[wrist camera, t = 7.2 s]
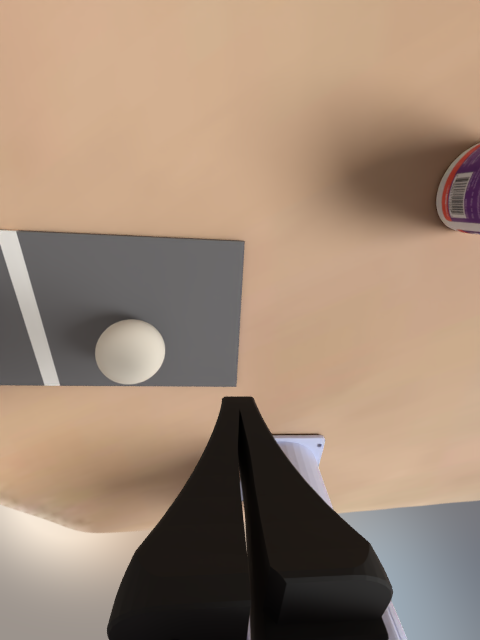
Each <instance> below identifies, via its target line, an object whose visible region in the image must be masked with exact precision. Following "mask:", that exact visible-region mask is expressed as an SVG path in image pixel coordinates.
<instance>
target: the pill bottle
mask: <svg viewBox="0 0 480 640" xmlns="http://www.w3.org/2000/svg"><path fill="white" fill-rule="evenodd" d="M436 207H437V212H438V215H439V217H440V219H441V220H442V222H443V223H444V224H445V225H446V226H447V227H449V228H451V229H453V230H456V231H460V232H465V233H471V234H480V143H478V144H476V145H474V146H472V147H470V148H469V149H467V150H466V151H464V152H463V153H462V154H461V155H460V156H458V157H457V158H456V159H455V160H454V162H453V163H452V164H451V165H450V166H449V168H448V169H447V171H446V172H445V174H444V176H443V178H442V180H441V182H440V185H439V188H438V192H437V197H436Z"/></svg>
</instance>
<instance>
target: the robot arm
mask: <svg viewBox="0 0 480 640" xmlns="http://www.w3.org/2000/svg"><path fill="white" fill-rule="evenodd" d="M324 443H325V439H324V437H323V436H322V435H272V434H271V432H270V430H269V429H268V427H267V425H266V423H265V422H264V420H263V418H262V416H261V414H260V412H259V410H258V408H257V406H256V403H255V401H254V398H253V397H224V398H222V404H221V409H220V413H219V416H218V419H217V422H216V425H215V427H214V430H213V433H212V435H211V437H210V440H209V442H208V444H207V446H206V448H205V450H204V452H203V454H202V456H201V458H200V460H199V462H198V464H197V466H196V467H195V469H194V471H193V473H192V474H191V476H190V478H189V479H188V481H187V483H186V484H185V486H184V487H183V489H182V490H181V492H180V494H179V495H178V496H177V498H176V499H175V501H174V502H173V504H172V505H171V506H170V508H169V509H168V510H167V512H166V513H165V515H164V516H163V517H162V519H161V520H160V521H159V523H158V524H157V525H156V527H155V528H154V529H153V530H152V531H151V533H150V534H149V535H148V536H147V538H146V539H145V540H144V541H143V543H142V544H141V545H140V546H139V547H138V549H137V550H136V551H135V553H134V555H133V557H132V559H131V562H130V564H129V566H128V568H127V570H126V572H125V575H124V577H123V579H122V582H121V584H120V587H119V590H118V592H117V595H116V598H115V601H114V605H113V609H112V612H111V616H110V619H109V623H108V627H107V634H108V638H109V640H407V638H406V635H405V633H404V630H403V627H402V625H401V623H400V620H399V618H398V615H397V613H396V611H395V608H394V606H393V604H392V601H391V598H392V594H393V590H392V586H391V584H390V581H389V579H388V577H387V574H386V572H385V570H384V568H383V566H382V564H381V563H380V561H379V559H378V557H377V555H376V553H375V552H374V550H373V548H372V546H371V544H370V543H369V542H368V541H366V539H365V538H363V537H362V536H361V535H360V534H359V533H358V532H357V531H355V530H354V529H353V528H352V527H351V526H350V525H349V524H348V523H347V522H345V521H344V520H343V519H342V518H341V517H340V516H339V515H338V514H337V513H336V512H335V511H334V510H333V507H332V504H331V501H330V498H329V496H328V493H327V490H326V487H325V484H324V482H323V479H322V476H321V473H320V470H319V463H320V459H321V455H322V451H323V447H324ZM238 463H239V464H238ZM239 471H240V477H239ZM242 501H244V510H245V522H246V542H247V551H246V542H245V532H244V522H243V511H242Z"/></svg>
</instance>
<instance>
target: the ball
mask: <svg viewBox="0 0 480 640" xmlns="http://www.w3.org/2000/svg"><path fill="white" fill-rule="evenodd" d="M164 356H165V344H164V340H163V338H162V336H161V334H160V333H159V332H158V330H157V329H156V328H155V327H153V326H152V325H150V324H149V323H147V322H144V321H141V320H136V319H128V320H122V321H119V322H116V323H114V324H113V325H111V326H110V327H108V328H107V329H106V330H105V331H104V332H103V333H102V334H101V336H100V338H99V339H98V342H97V344H96V349H95V358H96V362H97V365H98V367H99V369H100V370H101V372H102V373H103V374H104V375H105V376H106V377H107V378H109V379H110V380H112V381H114V382H117V383H120V384H137V383H141V382H143V381H145V380H147V379H149V378H150V377H152V376H153V375H154V374H155V373H156V372H157V371H158V370H159V368H160V367H161V365H162V363H163V360H164Z"/></svg>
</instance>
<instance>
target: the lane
mask: <svg viewBox="0 0 480 640" xmlns="http://www.w3.org/2000/svg"><path fill="white" fill-rule="evenodd" d="M243 260H244V241H235V240H214V239H192V238H170V237H149V236H127V235H106V234H84V233H62V232H41V231H19V230H0V385H48V386H210V387H236V383H237V365H238V347H239V330H240V312H241V295H242V277H243ZM128 319H136V320H141V321H144V322H147V323H149V324H150V325H152V326H153V327H155V328H156V329H157V330H158V332H159V333H160V334H161V336H162V338H163V340H164V344H165V356H164V360H163V363H162V365H161V367H160V368H159V370H158V371H157V372H156V373H155V374H154V375H153V376H152V377H150V378H149V379H147V380H145V381H143V382H141V383H137V384H120V383H117V382H114V381H112V380H110V379H109V378H107V377H106V376H105V375H104V374H103V373H102V372H101V370H100V369H99V367H98V365H97V362H96V358H95V349H96V344H97V342H98V339H99V338H100V336H101V334H102V333H103V332H104V331H105V330H106V329H107V328H108V327H110V326H111V325H113V324H114V323H116V322H119V321H122V320H128Z"/></svg>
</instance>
